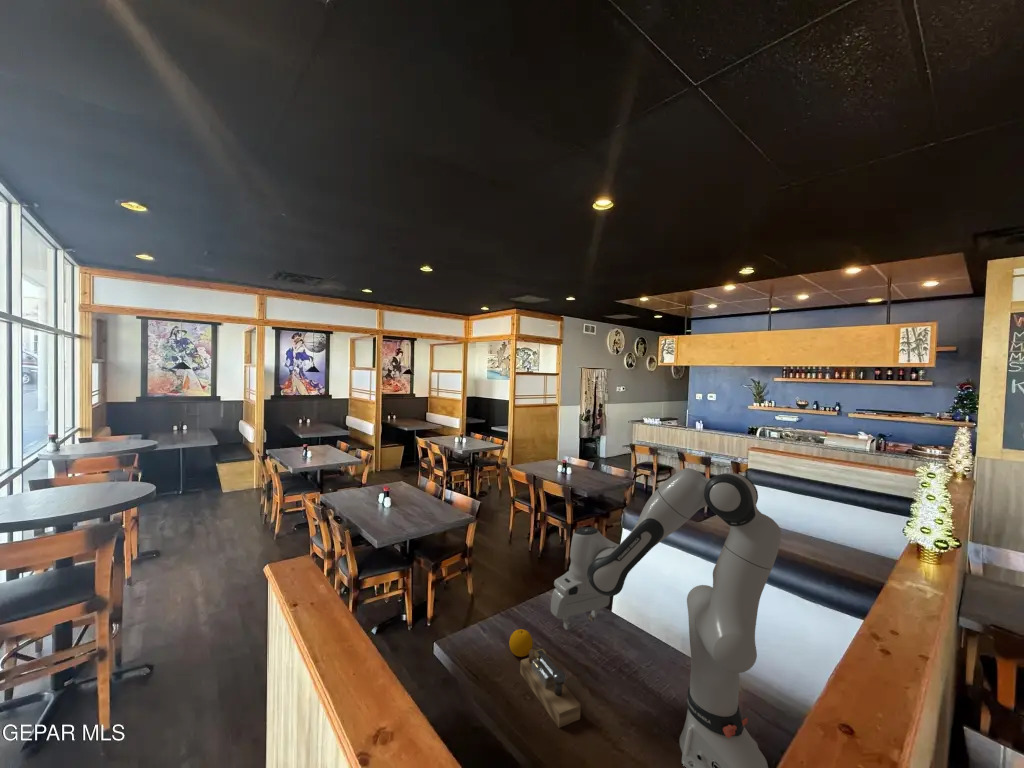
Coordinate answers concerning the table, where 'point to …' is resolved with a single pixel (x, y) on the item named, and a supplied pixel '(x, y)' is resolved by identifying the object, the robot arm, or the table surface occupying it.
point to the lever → (550, 666)
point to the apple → (520, 643)
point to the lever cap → (542, 673)
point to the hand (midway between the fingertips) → (579, 624)
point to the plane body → (552, 695)
